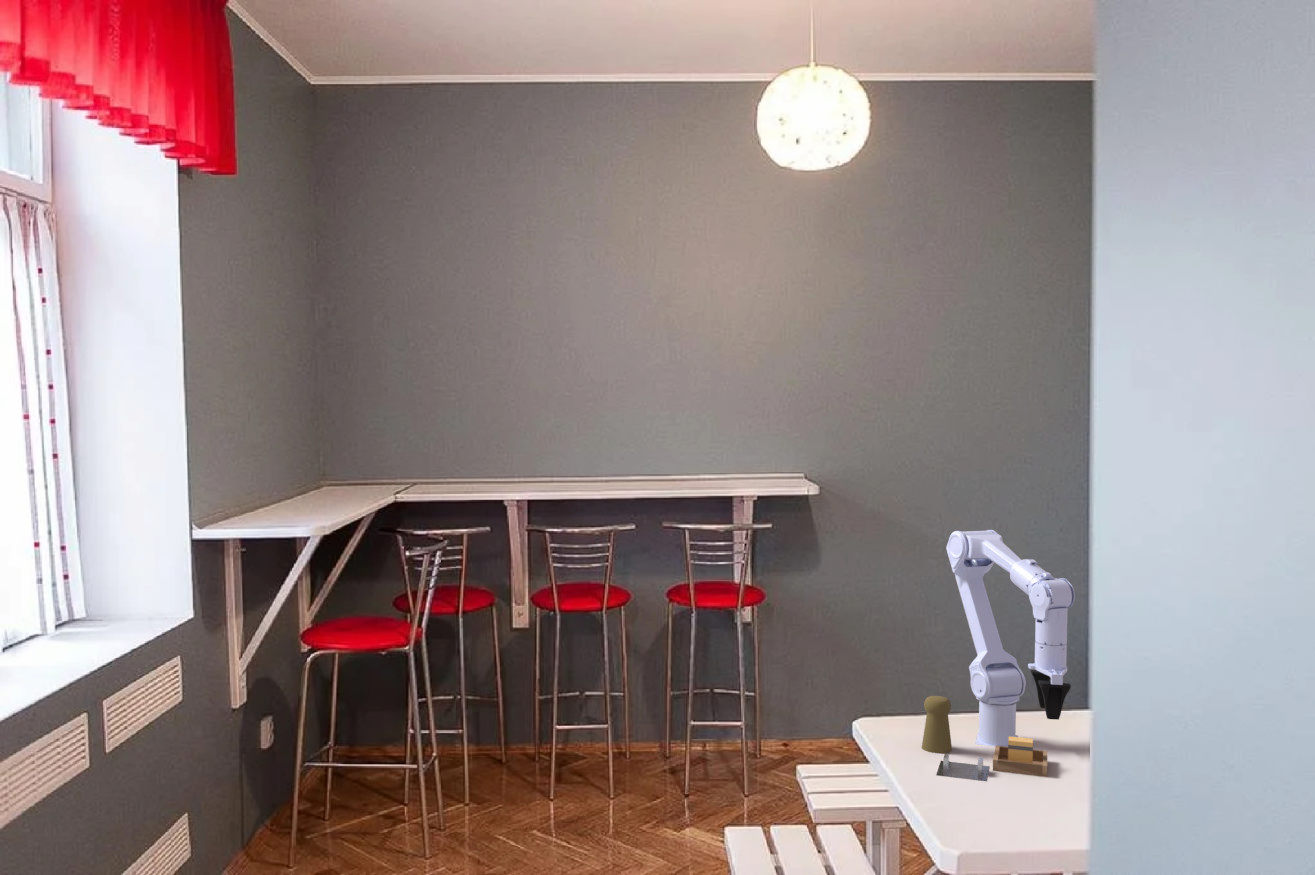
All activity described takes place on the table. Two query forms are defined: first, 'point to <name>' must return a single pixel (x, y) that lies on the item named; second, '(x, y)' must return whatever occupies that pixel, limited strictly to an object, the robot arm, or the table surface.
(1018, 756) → the block
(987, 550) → the robot arm
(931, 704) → the cork
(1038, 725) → the table surface
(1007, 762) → the tray
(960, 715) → the table surface
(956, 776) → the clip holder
